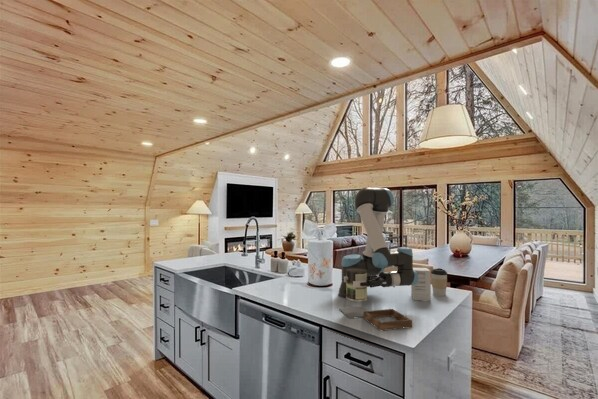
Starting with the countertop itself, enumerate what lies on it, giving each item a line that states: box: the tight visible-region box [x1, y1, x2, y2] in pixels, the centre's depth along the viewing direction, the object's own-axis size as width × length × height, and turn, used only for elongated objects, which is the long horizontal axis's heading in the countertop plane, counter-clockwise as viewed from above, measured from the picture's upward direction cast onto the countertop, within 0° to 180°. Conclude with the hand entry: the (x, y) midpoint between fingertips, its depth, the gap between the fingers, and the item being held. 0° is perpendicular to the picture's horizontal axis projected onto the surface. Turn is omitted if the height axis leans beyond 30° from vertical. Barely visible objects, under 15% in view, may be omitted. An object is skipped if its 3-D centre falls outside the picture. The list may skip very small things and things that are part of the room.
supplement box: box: [410, 267, 432, 302], centre depth 175 cm, size 10×9×17 cm
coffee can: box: [345, 268, 368, 302], centre depth 150 cm, size 10×10×14 cm
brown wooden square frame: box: [363, 308, 413, 331], centre depth 138 cm, size 15×15×3 cm
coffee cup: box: [430, 267, 448, 297], centre depth 183 cm, size 9×9×15 cm
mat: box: [338, 306, 369, 319], centre depth 150 cm, size 13×13×1 cm
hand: (348, 281), depth 149 cm, fingers closed on coffee can, 10 cm apart
